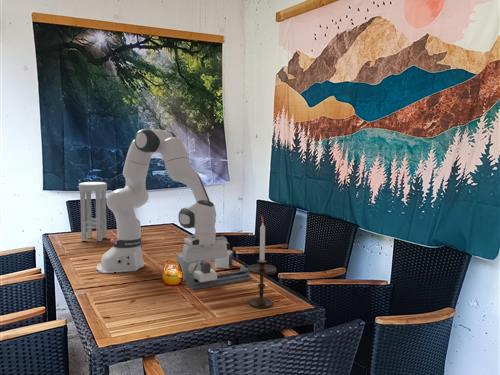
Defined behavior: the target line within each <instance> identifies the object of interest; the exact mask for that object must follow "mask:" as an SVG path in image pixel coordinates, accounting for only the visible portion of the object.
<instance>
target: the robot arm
mask: <svg viewBox="0 0 500 375" xmlns="http://www.w3.org/2000/svg"><path fill="white" fill-rule="evenodd" d="M153 154H161V155H162V158H163V163H164V167H165V171H166V173H167V176H168V177H169V178H170V179H171V180H173V181H175V182H178V183H181V184H183V185H185V186H188V188H189V189H190V190H191V192H192V194H193V197H194V200H195V203H194V204H192V205H189V206H185V207H182V208H181V209H180V210H179V213H178V217H177V218H178V222H179V224H180V226H181V227H182V228H184V229H194V233H193V234H191V235H189V236H187V237H184V240H183V241H184V242H183V243H185V244H184V245H183V246H182V253H181V254H182V259H183V261H185V262H186V263H188V262H195V261H196V264H197V265H198V270H199V271H201V270H203V266H201V265H200V263H201V261H202V260H204V261H207V260H209V263H210V269H212V270H213V265H214V264H215V259H216V258H223V257H226V256H227V245H226V244H227V242H228V240H227V237H225V236H223V235H222V236H217V235H216V232H217V231H216V222H217V219H216V218H217V212H216V211H217V210H216V207H215V204H214V203H213V202H212V201H211V199H210V197H209V195H208V193H207V190H206V188H205V185H204V184H203V181H202V179H201V177H200V175H199V173H198V172H197V171H196V170H195V169H194V167H193V166H192V164H191V162H190V158H189V154H188V152H187V149H186V147H185V145H184V142H183V140H182V139H181V138H179V137H177V135H176V134H175V133H173V132H172V131H170V130H164V129H160V128H159V129H158V128H156V129H155V128H153V129H151V128H143V129H139V130H138V131H137V132H136V133H135V136H134V139H133V140H132V141H131V143H130V145H129V148H128V151H127V154H126V158H125V161H124V166H123V169H122V170H123V171H122V176H123V177H124V179H125V186H124V187H123V188H117V189H115V190H113V191H111V192H110V193H109V194H108V195H106V207H108V209H109V211H111V212H112V213H113V216H114V218H115V221H116V222H115V223H116V238H115V239H114V238H111V239H110V242H111V243H112V247H111V248H110V249H108V250H107V251H106V252H105V253H103V254H102V256H101V260H100V263H98V264H97V265H96V271H97V270H98V271H97V272H98V273H100V274H113V273H114V272H116V273H124V272H125V273H126V272H135V271H138V270H139V269H141V268H143V267H144V266H145V263H144V259H143V253H142V247H143V240H142V237H141V236H142V235H141V232H142V231H141V222H140V220H139V219H138V218H137V215H136V213H135V209H139V208H141V207H143V206H144V205H145V204H147V202H148V201H149V198H150V197H149V192H148V190H147V187H146V184H147V183H146V182H147V181H146V180H147V175H148V170H149V166H150V163H151V158H152V156H153ZM114 274H115V273H114Z"/></svg>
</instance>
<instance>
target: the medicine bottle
mask: <svg viewBox="0 0 500 375" xmlns="http://www.w3.org/2000/svg"><path fill="white" fill-rule="evenodd" d="M226 245H227V256H226V257H223V258H216V259H215V261H214V264H215V265H214V266H215V267H214V268H216V269H227V270H228V269H231V267H232V266H233V263H234V262H233V260H234V259H233V258H234V257H233V255H234V254H233V251H232V250H231V243H230V242H228V241H227V244H226Z"/></svg>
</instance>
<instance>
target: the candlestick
mask: <svg viewBox="0 0 500 375" xmlns="http://www.w3.org/2000/svg"><path fill="white" fill-rule="evenodd" d="M260 216H261V217H260V218H261V219H260V220H261V226H260V228H259V259H258V260H256V262H257V263H254V264H251V265H248V266H247V269H248V272H250V274H252V275H256V276H257V275H259V283H258V284H257V287H258V289H259V290H258V291H257V293H259V297H255V298H251V299H250V300H249V306H250V307H252V308H254V309H259V310H262V309H263V310H264V309H269V308H272V307H273V305H274V301H273V300H272V299H270V298H266V297H264V294H265V291H266V290H264V289H265V287H266V284H265V283H264V276H268V275H273V274H275V273H276V272H277V268H276V267H277V266H274V265H273V264H268V263H267V262H268V260H265V258H266V257H265V256H266V255H265V254H266V253H265V252H266V250H265V249H266V226H265V223H264V218H263V216H262V215H260Z"/></svg>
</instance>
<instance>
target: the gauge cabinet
mask: <svg viewBox="0 0 500 375" xmlns="http://www.w3.org/2000/svg"><path fill="white" fill-rule="evenodd" d="M177 262H178V263H179V264H180V266H181V269H182V273H183V280H182V281H183V282H184V281H185V282H186V275H187V274H188V275H190V276H191V277H193V278H194V271H197V270H198V265H197V264H196V261H195V262H188V263H186V262H185V261H183V259H182V253H177V254H176V263H177ZM201 262H205V260H202V261H201ZM194 279H195V278H194Z"/></svg>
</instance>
